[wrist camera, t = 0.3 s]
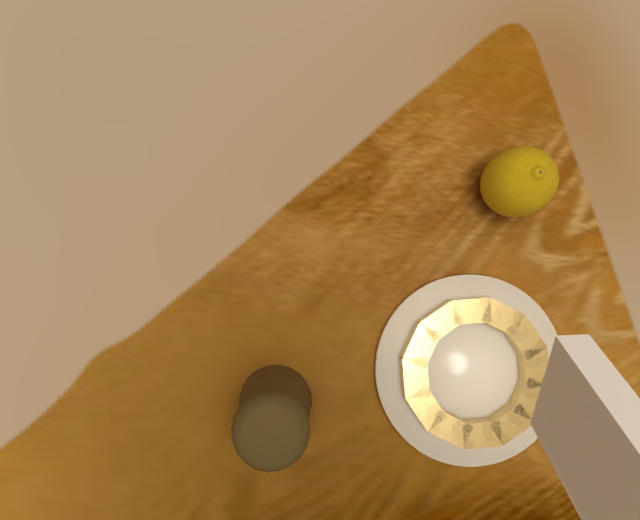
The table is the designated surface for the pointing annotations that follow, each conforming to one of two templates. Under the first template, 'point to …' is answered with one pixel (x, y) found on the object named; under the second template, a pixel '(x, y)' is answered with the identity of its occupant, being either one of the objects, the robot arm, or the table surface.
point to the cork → (272, 419)
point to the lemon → (519, 181)
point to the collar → (524, 395)
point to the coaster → (458, 366)
